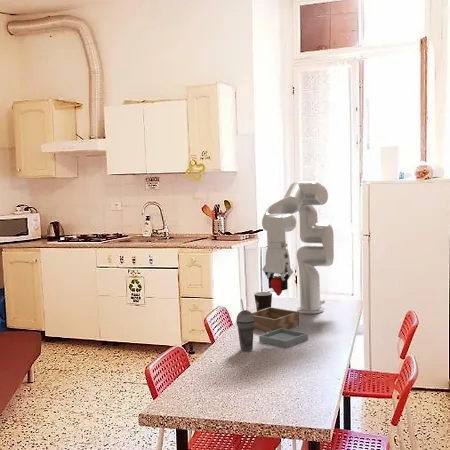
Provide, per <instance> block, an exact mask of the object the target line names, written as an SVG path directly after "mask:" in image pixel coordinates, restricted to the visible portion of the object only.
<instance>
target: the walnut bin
mask: <svg viewBox="0 0 450 450" xmlns="http://www.w3.org/2000/svg"><path fill="white" fill-rule="evenodd" d="M251 313H252V314H253V316H254V320H255V321H254V329H253V331H254V330H256V331H260V332H261V331H262V332H266V333H268V332H271V331H274V330H277V329H280V328H283V329H288V330H292V329H293V328H295V327H299V326H301V325H300V323H301V322H300V321H301V319H300V312H298V311H297V310H291V309H289V310H288V309H283V308H279V307H272V306H271V307H269V308H266V309H263V310H259V311H257V310H256V311H253V312H251Z"/></svg>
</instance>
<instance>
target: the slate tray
mask: <svg viewBox="0 0 450 450" xmlns="http://www.w3.org/2000/svg"><path fill="white" fill-rule="evenodd" d="M307 340H309V334H308V333H307V332H303V331H298V330H292V329H283V328H280V329H277V330H274V331H271V332H266V333H263V334H261V335H260V334H259V336H258V341H259V343H264V344H267V345H272V346H277V347H280V348H281V347H282V348H286V349H288V348H289V347H293V346H295V345H298V344H299V343H302V342H305V341H307Z"/></svg>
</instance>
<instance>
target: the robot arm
mask: <svg viewBox="0 0 450 450" xmlns="http://www.w3.org/2000/svg"><path fill="white" fill-rule="evenodd" d="M328 200H329V193H328V190H327V188H326V186H324V185H323V184H321V183H320V182H317V181H315V180H313V181H311V180H309V181H308V180H307V181H306V180H305V181H294V182H293V183H291V184H290V185H289V187H288V189H287V191H286V193H285V195H284V197H283V198H282V199H280V200H278V201H276V202H274V203H273V204H271V205H270V206H269V207H268V208H267V209H266V210H265V212H264V214H263V216H262V219H261V226H262V228H263V230H264V231H266V239H267V240H266V242H267V243H266V244H267V249H266V252H265V265H264V266H263V267H262V271H263V273H264V275H265V276H266V278H267V280H268V289H272V287H271V284H270V283H271V280H272V279H273V278H274V277H272V276H275V274H277V275H278V274H279V275H280V276H281V277H282V281H281V289H282V290H283V291H287V290H288V287H289V286H288V280H290V278H291V276H292V275H293V273H294V270H293V269H292V268H291V260H290V254H289V253H290V252H289V250H288V248H287V247H288V244H287V242H286V233H287V232H291V231H294V229H295V228H296V227H297V219H296V217H295V216H294V215H293V214H295V213H297V212H298V215H299V238H300V239H299V240H300V242H302V243H305V244H322V246H320V245H305V246H301V247H299V248H298V249H297V251H296V259H297V265H298V272H299V273H298V275H299V298H300V299H299V303H300V304H299V305H300V306H299V307H297V308H296V309H297V310H296V312H299V314H305V315H306V314H307V315H308V314H309V315H311V314H312V315H313V314H319V313H323V312H324V311H325V310H324V307H322V305H325V304H326V301H325V300H324V299H321V291H320V290H321V289H320V288H321V286H320V272H318V269H316V267H330V266H332V265H333V264H334V258H335V255H334V254H335V253H334V252H335V250H334V247H335V245H334V238H335V236H334V230H333V227H332V225H331V224H329V223H326V222H325V223H324V222H322V223H321V222H320V223H319V222H318V211H317V209H316V207H315V206H323V205H326V203H327V202H328Z"/></svg>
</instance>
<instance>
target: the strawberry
mask: <svg viewBox="0 0 450 450" xmlns="http://www.w3.org/2000/svg"><path fill="white" fill-rule="evenodd" d="M272 277H273V279H272V280H271V283H270V284H271V287H272V288H271V289H272V290H273V292H274V293H275V294H276V296H278V297H279V296H281V294H282V293H283V291H284V290H282V289H281V281H282V277H281V275H280V274H277V275H274V276H272Z"/></svg>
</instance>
